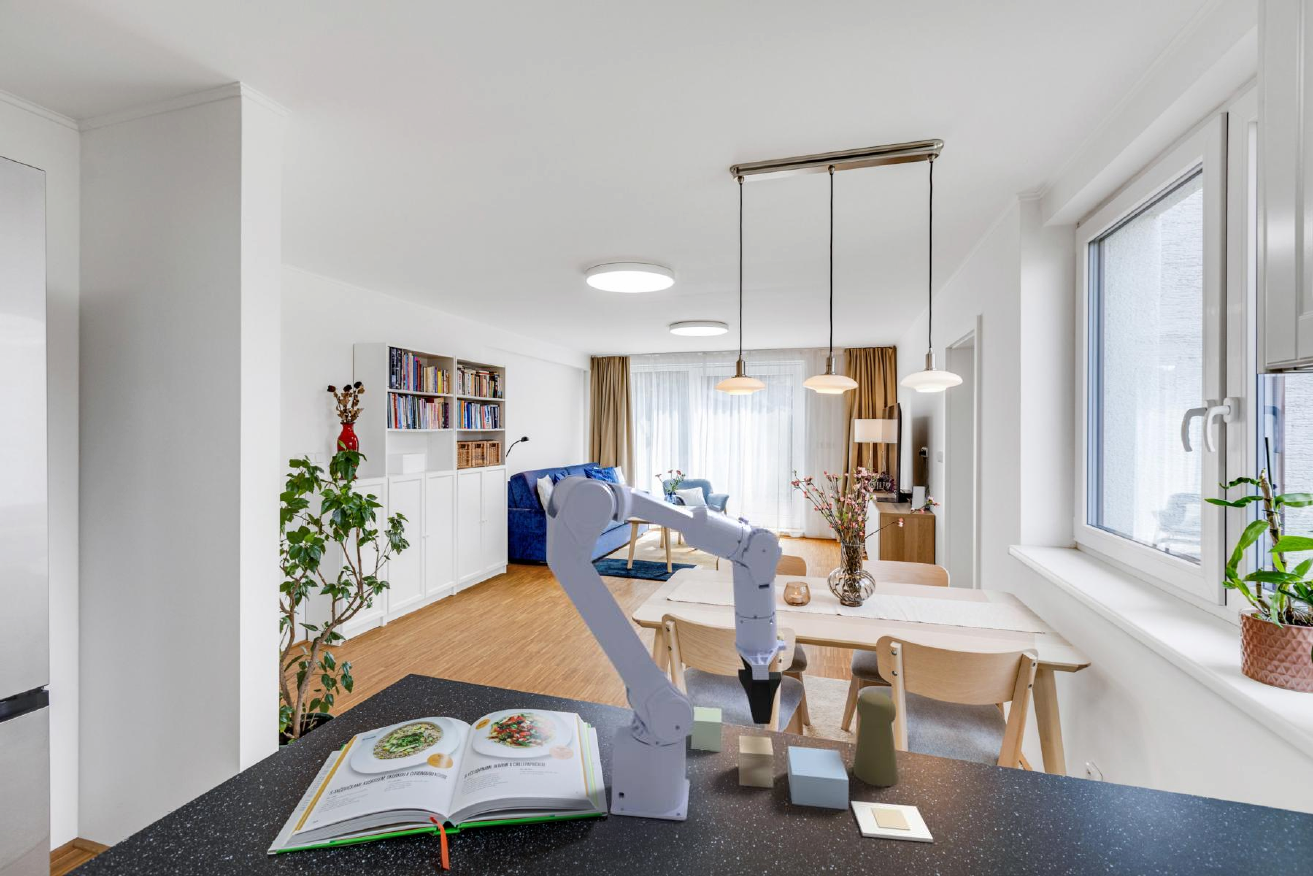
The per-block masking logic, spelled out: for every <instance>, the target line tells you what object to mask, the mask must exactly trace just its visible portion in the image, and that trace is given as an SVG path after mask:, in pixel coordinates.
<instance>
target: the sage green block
mask: <svg viewBox="0 0 1313 876" xmlns="http://www.w3.org/2000/svg"><path fill="white" fill-rule="evenodd" d="M693 707H694V721H693V724H692V727H691V742H690V743H691V749H704V750H710V751H709V752H719V753H720V752H721V753H722V720H723V719H722V713H723V712H722V711H723V710H722V708H717V707H705V706H704V707H702V706H693Z"/></svg>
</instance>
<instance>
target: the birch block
mask: <svg viewBox="0 0 1313 876" xmlns="http://www.w3.org/2000/svg"><path fill="white" fill-rule="evenodd" d="M773 750H774V749H773V743H772V738H771V737H765V736H764V737H763V736H753V735H752V736H750V735H738V777H739V778H738V781H739V782H738V783H739V785H740V786H745V787H747V786H749V787H758V788H759V787H761V788H772V789H773V788H774V751H773Z"/></svg>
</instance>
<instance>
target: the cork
mask: <svg viewBox="0 0 1313 876" xmlns="http://www.w3.org/2000/svg"><path fill="white" fill-rule="evenodd" d="M856 710H857V713H858V715H859V717H860V721H859V729H858V734H857V742H856V747H855V748H856V749H855V754H854V755H855V756H854V760H853V768H852V769H853V770H852V772H853V774H854V776H856V777H857V778H858V779H859V780H860V781H863V782H864V783H865V782H866V784H868V785H871V784H872V785H871V786H874V785H877V786H876V787H879V786H882V787H881V788H885V786H889V787H892V786H895V785H897V784H898V782H899V781H900V780H899V771H898V764H897V756H896V747H895V740H894V732H893V725H892V723H893V722H894V721H895V719H896V716H897V708H896V704H895V702H894V701H893V699H892V698H890V697H889V696H888V695H885V694H883V693H880V692H875V691H874V692H873V691H868V692H864V693H862V694H860V695H859V696H858V699H857V701H856ZM894 784H895V785H894ZM883 786H884V787H883Z"/></svg>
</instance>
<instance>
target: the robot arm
mask: <svg viewBox="0 0 1313 876" xmlns="http://www.w3.org/2000/svg"><path fill="white" fill-rule="evenodd" d="M546 503H547V504H546V505H545V509H544V510H545V516H546V517H545V519H546V551H545V552H546V553H545V554H546V556H545V557H546V563H547V567H548V568H549V569H550V571H551V573H552V574H553V575H554V577H555V579H556V580H557V582H558V584H559V585H560V586H561V587H562V590H563V591H564V592H565V594H566V595H567V597H568V598H569V600H570V602H571V603H572V604H573V606H574V608H575V609H576V611H577V612H578V614H579V615H580V617H581V618H582V620H583V622H584V623H585V624H586V626H587V627H588V629H589V631H590V632H591V634H592V636H593V637H594V638H595V639H596V642H597V643H598V644H599V646H600V647H601V650H603V652H604V654H605V655H606V656H607V658H608V659H609V661H610V663H611V664H612V665H613V667H614V669H615V671H617V673H618V675H619V678H620V679H621V680H622V682H623V684H624V687H625V697H626V700H627V703H628V705H629V707H630V708H631V709H632V710H633V716H632V719H631V723H630V724H629V725H620V726H617V728H616V732H615V735H614V740H613V748H612V758H611V759H612V763H611V764H612V765H611V767H612V768H611V807H610V814H612V815H618V816H619V815H621V816H631V817H643V818H653V819H663V820H675V821H686V819H687V817H688V816H687V815H688V806H689V805H688V804H689V795H690V786H691V785H690V780H689V779H688V778H686V767H687V766H686V764H687V763H686V759H687V757H686V755H687V754H686V753H687V751H686V747H687V745H686V744H687V735H688V733H689V732H690V731H691V730H692V724H693V721H694V707H695V706H694V705H693V702H692V701H691V699H690V698H689V696H687V695H686V694H685V693H683V692H682V691H681V690H680V689H679V688H678V687H677V686H676V685H675V684H674V682H672V681H671V680H670V678H669V677H668V675H667V674H666V673H665V671H664V670H662V669H661V668H660V667H659V666H658V664H657V663H656V662H655V661H654V660H655V659H653V657H652V655H651V653H650V652H649V651H648V649H647V648H646V646H645V645H644V643H643V641H642V639H640V637H639V635H638V633H637V632H636V631H635V629H634V627H633V626H632V624H631V623H630V621H629V620H628V618H627V617H626V615H625V613H624V611H623V610H622V608H621V607H620V605H619V604H618V602H617V601H616V599H615V597H614V596H613V594H612V593H611V591H610V589H609V588H608V586H607V585H606V583H605V581H603V579H602V577H601V575H600V574H599V572H598V571H597V569H596V567H595V566H594V563H593V562H592V556H593V553H594V550H595V547H596V545H597V541H598V540H599V538H600V537H601V536H602V534H603V533H604V531H605V530H606V529H607V527H608V526H609V524H610V523H611V521H614V522H616V523H621V522H623V521H626V520H629V519H630V518H637V519H640V520H642V521H646V522H649V523H652V524H655V525H657V526H661V527H665V528H666V529H670V530H672V531H676V532H679V533H680V534H681V536H682V538H683V540H684V542H685V545H687V546H688V547H691V548H693V549H696V550H699V551H701V552H705V553H707V554H710V555H713V556H715V557H718V558H722V559H724V560H727V561H730V562H731V563H732V566H731V567H732V583H733V584H732V585H733V588H732V589H733V604H734V606H733V607H734V621H735V622H734V624H735V641H734V649H735V651H736V652H737V654H738V655H739V657H740V659H741V662H742V665H743V667H744V669H743V668H741V669H740V668H739V669H737V674H738V675H737V676H738V677H737V678H738V680H739V682H740V684H741V685H742V688H743V689H744V691H745V694H746V696H747V700H748V705H749V709H750V714H751V718H752V721H753V724H755V725H769V724H771V720H772V715H773V709H774V708H773V707H774V703H775V702H774V700H775V697H776V693H777V691H778V688H779V686H780V685H781V682H782V680H783V676H782V672H781V671H770V666H771V664H772V661H773V659H774V658H775V657H776V655H777V654H778V653H779V652H780V651H786V650H787V646H788V645H787V642H786V641H785V640H781V639H780V640H779V639H778V626H777V625H778V624H777V622H778V621H777V603H776V602H777V601H776V583H775V581H776V578H777V577H776V571H777V570H776V569H777V566H778V564H779V562H780V561H781V558H782V554H783V547H782V546H780V545H779V540H778V538H777V537H776V536H775V534H774V533H773V532H772V531H771V530H768V529H766V528H764V527H758V526H755V525H752V524H749V522H750V521H749V519H747V518H746V517H741V516H739V517H738V518H736V517H734V516H730V515H728V514H726V513H723V512H721V507H719V506H717V505H714V504H712V503H708V504H707V506H705V505H698V506H696V507H694V508H692V509H690V510H689V509H686V508H684V507H681V506H678V505H676V504H673V503H671V502H669V501H666V500H664V499H661V498H660V497H657V496H655V495H653V494H649V493H647V492H644V491H643V490H640V489H638V488H635V487H633V486H628V485H626V484H625V485H624V484H620V483H614V482H611V481H610V482H609V481H607V480H606V481H605V480H599V479H596V478H587V477H586V476H584V475H580V474H569V475H567V476H564V477H563V478H561V479H559V480H558V481H557V482H556V483H555V484H554V486H553V488H552V490H551V493H550V495H549V498H548V501H547V502H546Z"/></svg>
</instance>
